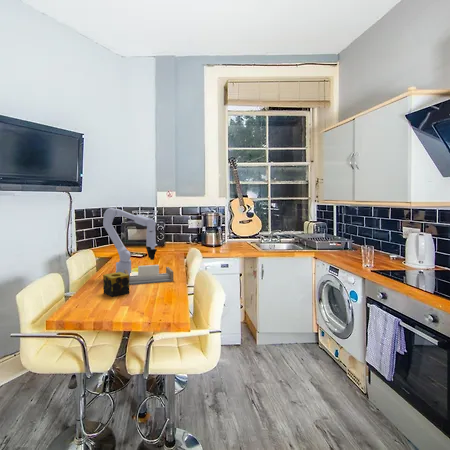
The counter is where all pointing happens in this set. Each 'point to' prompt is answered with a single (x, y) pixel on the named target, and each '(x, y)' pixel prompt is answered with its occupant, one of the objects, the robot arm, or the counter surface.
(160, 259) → the counter surface
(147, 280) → the cabinet base
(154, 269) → the door panel
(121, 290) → the black and yellow cube
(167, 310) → the counter surface
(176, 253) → the counter surface
